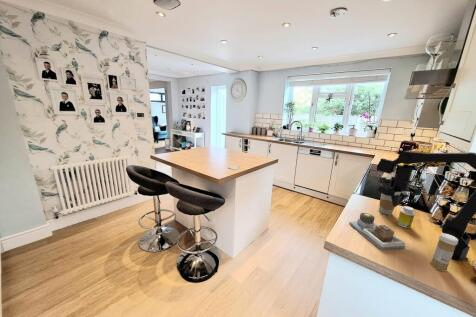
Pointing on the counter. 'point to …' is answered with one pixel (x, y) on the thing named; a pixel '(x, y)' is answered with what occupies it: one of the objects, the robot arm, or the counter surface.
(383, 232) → the brown block
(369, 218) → the wheel
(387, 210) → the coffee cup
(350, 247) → the counter surface
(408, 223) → the supplement bottle
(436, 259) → the sprinkles bottle
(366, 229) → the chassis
